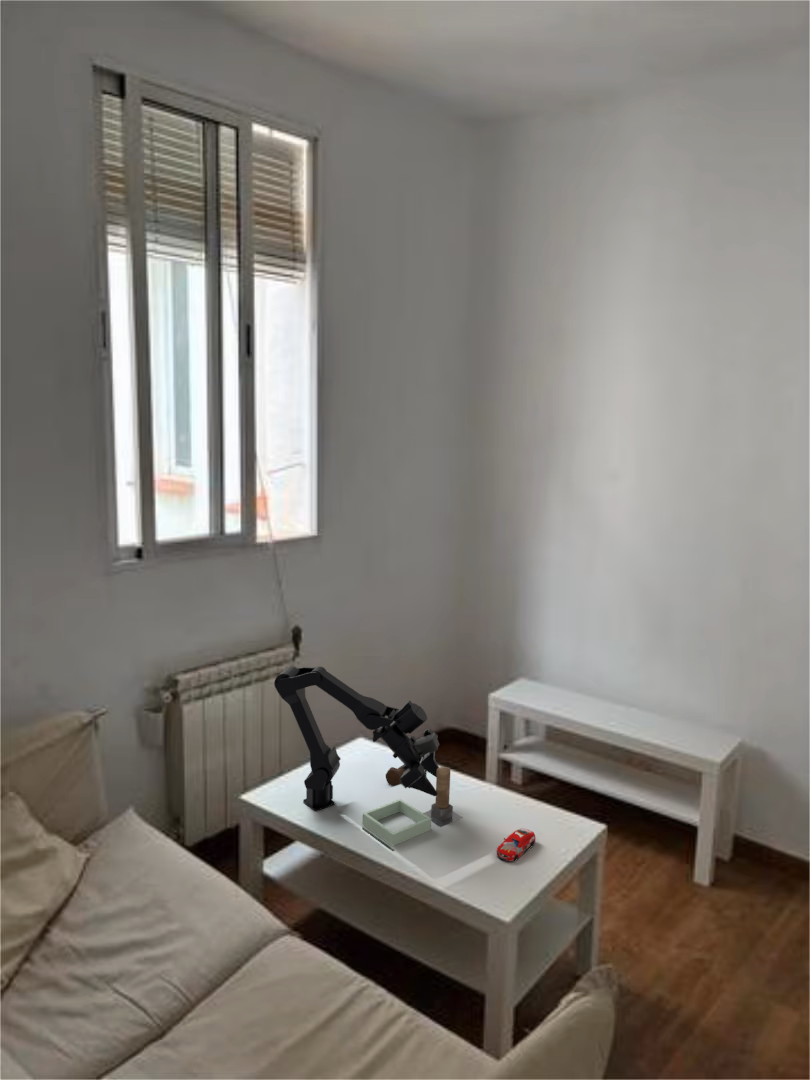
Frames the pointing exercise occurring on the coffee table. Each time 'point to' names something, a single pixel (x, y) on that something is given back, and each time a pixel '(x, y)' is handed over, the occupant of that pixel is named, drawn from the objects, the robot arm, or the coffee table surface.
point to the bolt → (394, 775)
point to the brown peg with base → (442, 795)
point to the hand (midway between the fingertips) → (439, 786)
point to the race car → (516, 844)
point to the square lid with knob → (444, 822)
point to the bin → (400, 835)
